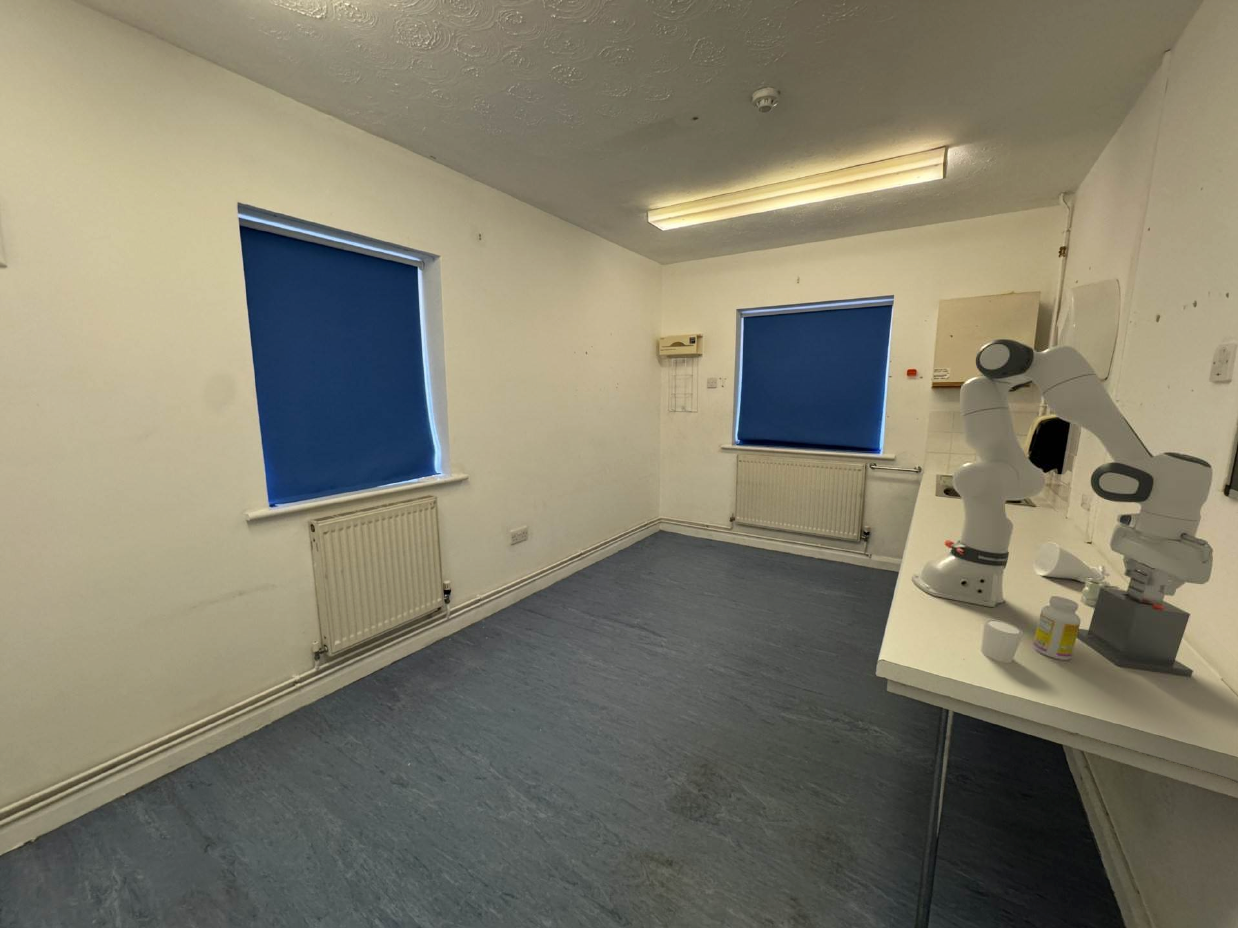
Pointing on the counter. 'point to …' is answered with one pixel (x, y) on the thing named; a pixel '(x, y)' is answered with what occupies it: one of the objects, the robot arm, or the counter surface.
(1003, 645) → the white cup
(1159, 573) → the column
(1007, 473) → the robot arm
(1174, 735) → the counter surface
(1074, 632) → the supplement bottle
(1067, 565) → the rocket engine
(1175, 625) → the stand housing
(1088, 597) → the valve
